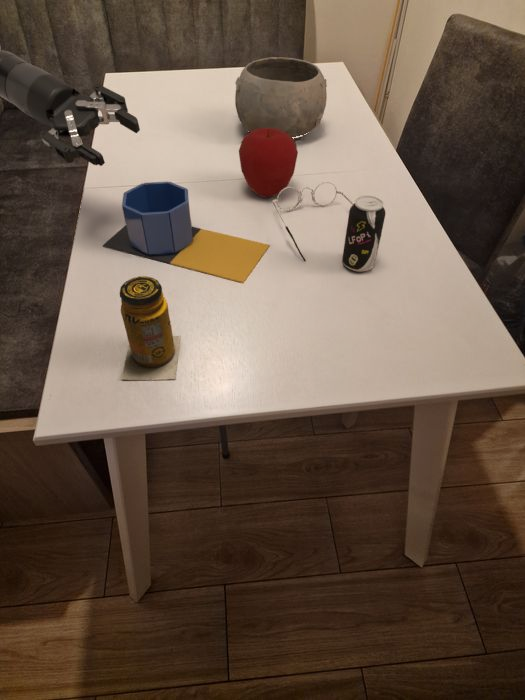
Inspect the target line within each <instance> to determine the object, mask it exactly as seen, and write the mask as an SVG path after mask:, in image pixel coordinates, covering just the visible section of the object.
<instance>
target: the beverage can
mask: <svg viewBox="0 0 525 700" xmlns="http://www.w3.org/2000/svg"><path fill="white" fill-rule="evenodd" d="M353 203H354V204H353V205H352V204H351V206H350V208H349V211H348V217H347V225H346V231H345V237H344V244H343V250H342V251H343V252H342V257H341V260H342V261H341V262H342V264H343V265H344V266H345V267H346V268H347V269H349V270H351V271H353V272H359V273H360V272H366V271H370V270H372V269H373V268H374V267H375V265H376V262H377V257H378V253H379V247H380V244H381V243H380V242H381V237H382V232H383V229H384V223H385V219H386V209H385V208H384V201H383V200H382V199H381V198H379V197H377V196H373V195H360V196H358V197H356V198H355V200H354V202H353Z"/></svg>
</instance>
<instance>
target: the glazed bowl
mask: <svg viewBox="0 0 525 700" xmlns="http://www.w3.org/2000/svg"><path fill="white" fill-rule="evenodd" d="M121 208H122V213H123V217H124V221H125V222H124V223H125V225H126V227H127V231H128V236H129V240H130V245H131V246H133V247H135V248H137V249H138V250H139V251H141V252H143V253H145V254H149V255H168V254H173V253H176V252H178V251H180V250H182V249H184V248H185V247H186V246H187V245H188V244H189V243H191V242H192V241H193V234H192V227H193V223H192V214H191V204H190V196H189V189H188V188H186V187H185V186H182V185H178V184H177V183H174V182H172V181H155V182H154V181H152V182H142V183H140V184H138V185H136V186H134V187H132V188H130V189H128V190H126V191H125V192H123V194H122V202H121Z"/></svg>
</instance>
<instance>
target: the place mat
mask: <svg viewBox="0 0 525 700" xmlns="http://www.w3.org/2000/svg"><path fill="white" fill-rule="evenodd" d="M192 234H193V241H192V242H191V243H189V244H188V245H187V246H186V247H185V248H184V249H182V250H180V251H178V252H176V253H173V254H168V255H149V254H145V253H143V252H141V251H139V250H138V249H137V248H135V247H133V246H131V245H130V240H129V236H128V231H127V227H126V224H125V225H124V226H123V227H121V229H120V230H118V231H117V232H116V233H115V234H113V236H111V237H110V238H109V239H108V240H107V241H106V242H104V243H103V244H102V247H103V248H106V249H110V250H114V251H118V252H122V253H126V254H130V255H134V256H138V257H141V258H145V259H149V260H153V261H156V262H160V263H163V264H169V265H172V266H176V267H180V268H183V269H187V270H191V271H195V272H198V273H199V272H200V273H202V274H207V275H209V276H210V275H211V276H213V277H217V278H221V279H226V280H229V281H233V282H237V283H241V284H244V283H245V282H246V281H247V279H248V277H249V276H250V274H251V273H252V272H253V270H254V269H255V267H256V266H257V265H258V264H259V262H260V261H261V260H262V258H263V256H264V255H265V253H266V252H267V251H268V249H269V248H270V247H271V245H270V244H268V243H264V242H258V241H255V240H251V239H247V238H242V237H238V236H233V235H230V234H226V233H222V232H217V231H212V230H208V229H204V228H200V227H195V226H192Z"/></svg>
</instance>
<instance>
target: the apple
mask: <svg viewBox="0 0 525 700" xmlns="http://www.w3.org/2000/svg"><path fill="white" fill-rule="evenodd" d="M238 154H239V155H238V157H239V163H240V171H241V173H242V176H243V177H244V180H245V182H246V184H247V186H248V187H249V189H251V190H252V191H253V192H254V193H256V194H257V196H260V197H261V198H272V197H274V196H276V195H278V194H279V193H280V191H281V190H282V189H284V188H286V187H289V186H288V185H289V183H290V182H291V180H292V178H293V176H294V174H295V169H296V164H297V159H298V154H299V152H298V148H297V145H296V142H295V140H293V138H292V137H290V136H289V135H288V134H287V133H285V132H283V131H281V130H278V129H274V128H260V129H255V130H253V131H251V132H250V133H249V132H247V134H246V135H244V136H243V138H242V140H241V143H240V146H239V148H238ZM286 189H287V188H286ZM284 190H285V189H284ZM280 194H281V193H280Z"/></svg>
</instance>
